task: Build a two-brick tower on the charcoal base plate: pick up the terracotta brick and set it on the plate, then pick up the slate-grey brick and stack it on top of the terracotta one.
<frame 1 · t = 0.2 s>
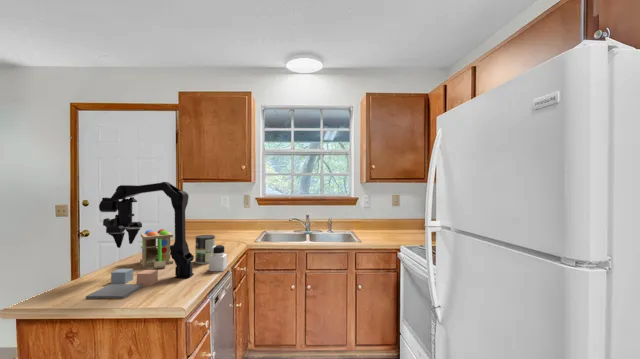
hand: (124, 245, 148), 14 cm above the countertop, tool pointing down, fingers open, 9 cm apart
base plate: (116, 292, 127), on the countertop
coffee can: (205, 262, 177), on the countertop
medicine bottle: (218, 269, 161), on the countertop
terracotta brick: (147, 283, 139), on the countertop
pounding bench toy: (158, 264, 170), on the countertop
slate-grey brick: (122, 281, 141), on the countertop
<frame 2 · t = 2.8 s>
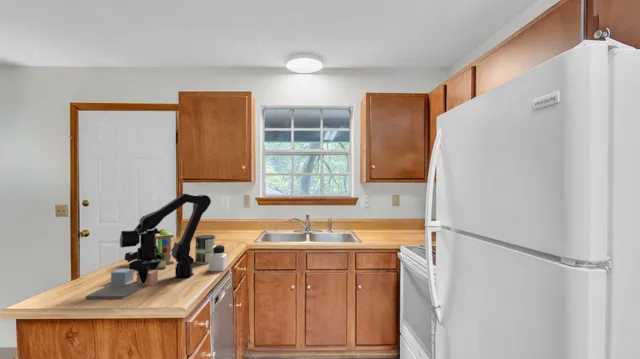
hand: (147, 280, 139), 1 cm above the countertop, tool pointing down, fingers closed on terracotta brick, 6 cm apart
terracotta brick: (147, 283, 139), on the countertop, touching gripper
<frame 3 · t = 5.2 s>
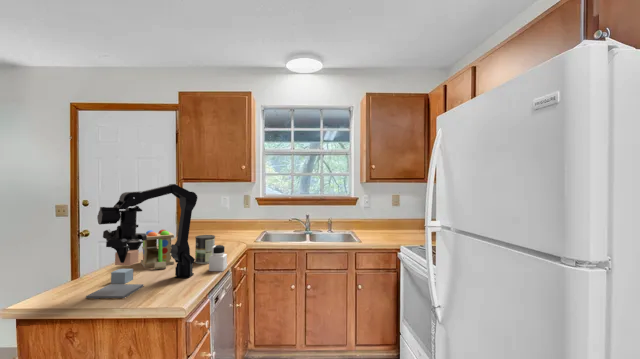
hand: (127, 260, 131), 11 cm above the countertop, tool pointing down, fingers closed on terracotta brick, 6 cm apart
terracotta brick: (126, 263, 131), point 10 cm above the countertop, touching gripper
when the fingers open (3 cm above the countertop, at t = 7.5 s): terracotta brick drops 1 cm, resting on base plate.
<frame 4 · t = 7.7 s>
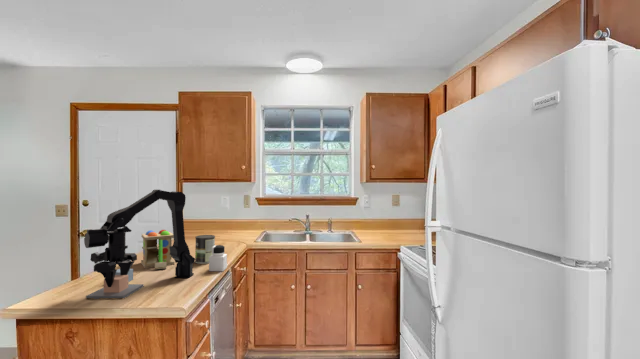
hand: (116, 283, 127), 3 cm above the countertop, tool pointing down, fingers open, 8 cm apart
terracotta brick: (116, 289, 127), point 1 cm above the countertop, touching base plate
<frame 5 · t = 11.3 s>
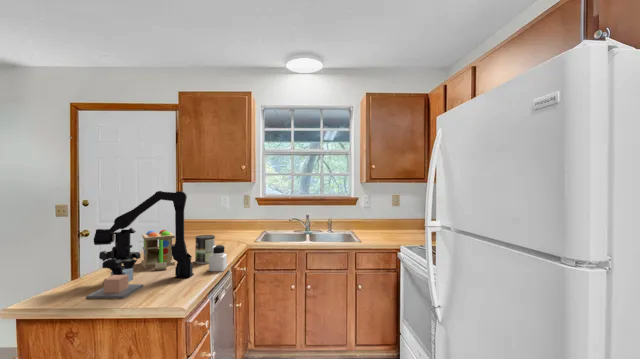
hand: (122, 279, 141), 1 cm above the countertop, tool pointing down, fingers closed on slate-grey brick, 6 cm apart
slate-grey brick: (122, 281, 141), on the countertop, touching gripper
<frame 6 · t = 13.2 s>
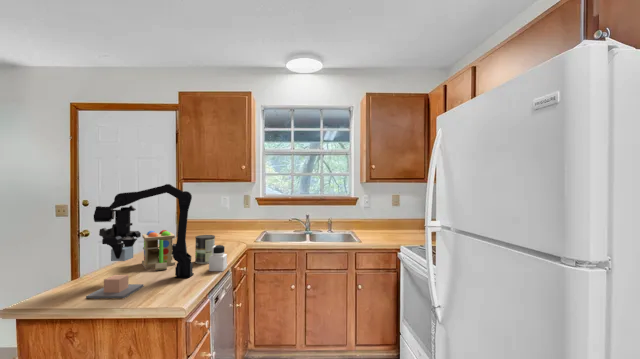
hand: (122, 256, 140), 11 cm above the countertop, tool pointing down, fingers closed on slate-grey brick, 6 cm apart
slate-grey brick: (122, 259, 140), point 10 cm above the countertop, touching gripper
when the fingers open (8 cm above the countertop, at t = 15.3 s): slate-grey brick drops 1 cm, resting on terracotta brick.
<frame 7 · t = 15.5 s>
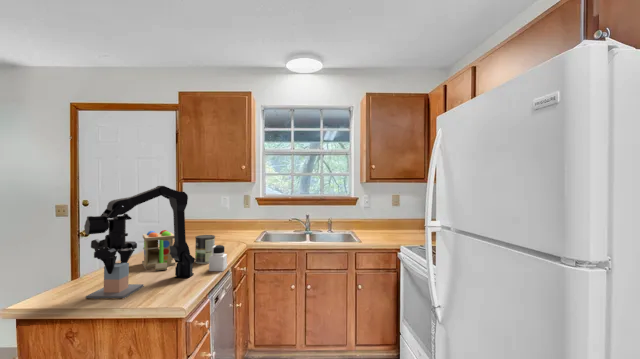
hand: (116, 270, 127), 8 cm above the countertop, tool pointing down, fingers open, 8 cm apart
terracotta brick: (116, 289, 127), point 1 cm above the countertop, touching base plate, slate-grey brick
slate-grey brick: (116, 277, 127), point 6 cm above the countertop, touching terracotta brick
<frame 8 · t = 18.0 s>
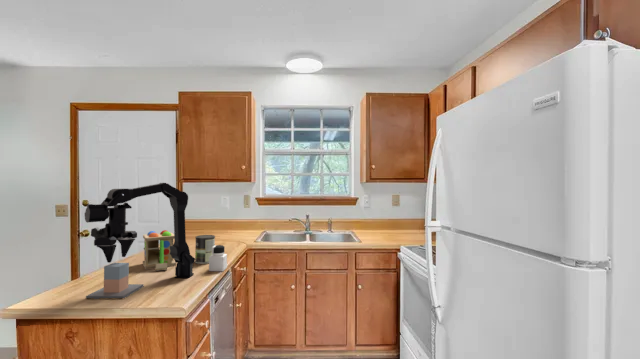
hand: (116, 259, 127), 13 cm above the countertop, tool pointing down, fingers open, 9 cm apart
at the end: terracotta brick inside the target area on the base plate (0.0 cm from its centre), point 1.0 cm above the base plate's base; slate-grey brick 0.1 cm off-centre on the terracotta brick, point 5.0 cm above the terracotta brick's base; slate-grey brick tilted 0° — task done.
